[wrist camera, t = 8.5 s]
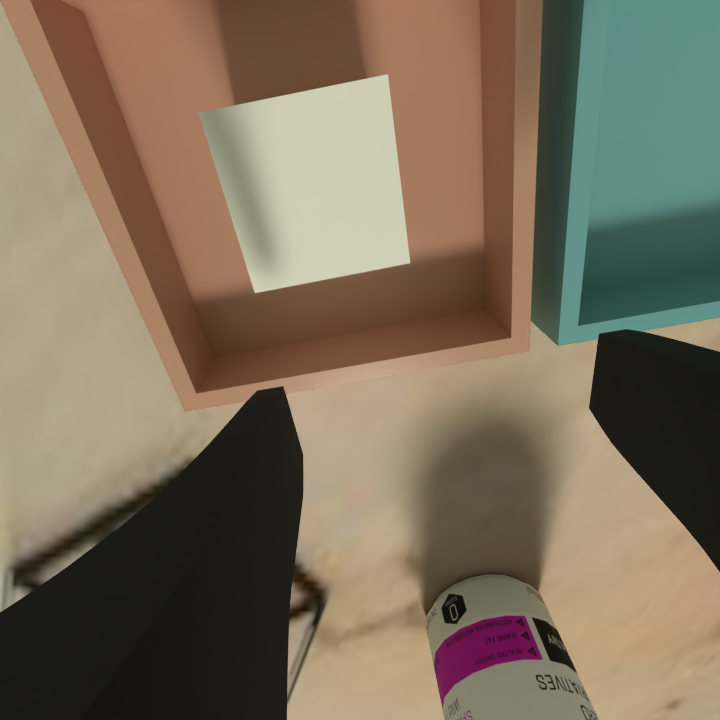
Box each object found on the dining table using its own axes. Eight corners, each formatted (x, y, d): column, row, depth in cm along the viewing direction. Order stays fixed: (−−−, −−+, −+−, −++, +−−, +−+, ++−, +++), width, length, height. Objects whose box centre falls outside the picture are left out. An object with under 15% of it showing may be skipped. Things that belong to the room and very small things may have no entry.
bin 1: (494, -92, 13) (549, -165, 10) (496, 315, 19) (529, 351, 16) (60, -8, 13) (-24, -52, 10) (207, 367, 19) (184, 411, 16)
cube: (368, 92, 14) (388, 74, 10) (387, 227, 16) (410, 263, 12) (237, 118, 14) (198, 112, 10) (274, 250, 16) (254, 293, 12)
